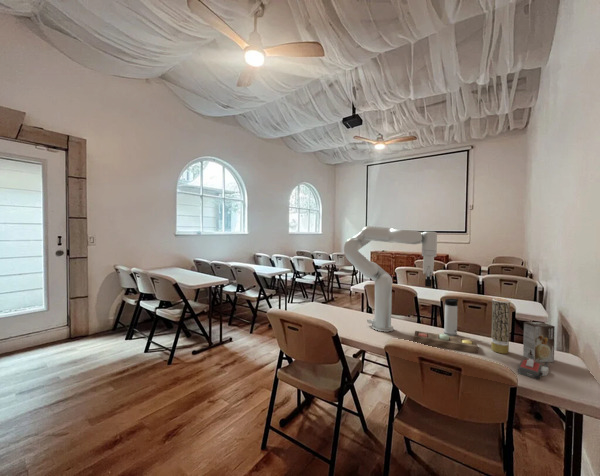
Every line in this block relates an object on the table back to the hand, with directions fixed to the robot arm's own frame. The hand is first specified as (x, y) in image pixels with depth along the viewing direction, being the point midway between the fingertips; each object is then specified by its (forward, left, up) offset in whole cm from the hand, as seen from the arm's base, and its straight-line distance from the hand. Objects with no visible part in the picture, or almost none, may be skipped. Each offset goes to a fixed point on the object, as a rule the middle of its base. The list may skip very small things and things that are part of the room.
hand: (428, 286), depth 153 cm
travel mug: (+12, +7, -27) cm, 31 cm away
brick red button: (-2, -11, -27) cm, 29 cm away
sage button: (+8, -11, -26) cm, 29 cm away
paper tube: (+32, -8, -27) cm, 43 cm away
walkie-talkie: (+41, -24, -28) cm, 55 cm away
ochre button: (+18, -11, -27) cm, 34 cm away
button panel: (+8, -11, -27) cm, 30 cm away
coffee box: (+46, -10, -27) cm, 54 cm away
